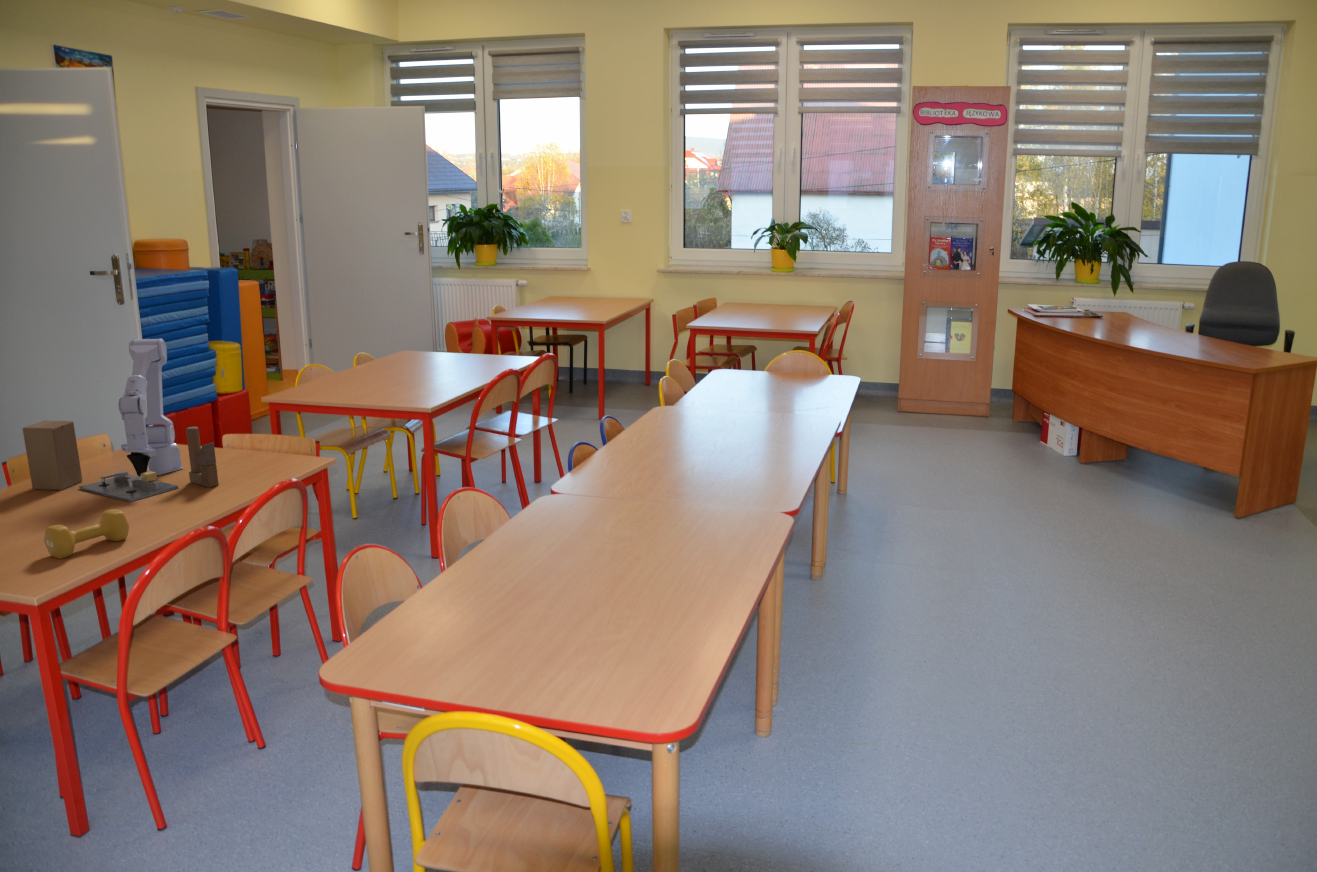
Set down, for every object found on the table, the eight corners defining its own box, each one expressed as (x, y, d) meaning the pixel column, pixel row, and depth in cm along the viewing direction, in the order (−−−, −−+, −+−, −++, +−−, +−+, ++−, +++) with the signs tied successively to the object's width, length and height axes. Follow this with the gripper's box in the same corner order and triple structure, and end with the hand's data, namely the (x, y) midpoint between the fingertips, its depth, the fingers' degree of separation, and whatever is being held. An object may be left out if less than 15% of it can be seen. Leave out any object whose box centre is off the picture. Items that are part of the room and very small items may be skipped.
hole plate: (128, 476, 316) (126, 466, 315) (178, 488, 304) (177, 477, 303) (79, 489, 303) (77, 478, 302) (129, 502, 290) (128, 490, 289)
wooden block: (83, 481, 311) (74, 420, 306) (61, 490, 301) (51, 428, 296) (54, 480, 312) (44, 420, 307) (31, 489, 302) (21, 427, 297)
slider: (151, 483, 304) (150, 471, 303) (157, 484, 303) (155, 472, 302) (127, 489, 297) (125, 477, 296) (133, 491, 296) (131, 478, 295)
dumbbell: (116, 534, 264) (112, 505, 262) (134, 540, 259) (130, 511, 257) (42, 555, 248) (37, 525, 246) (61, 562, 244) (56, 532, 242)
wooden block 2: (208, 488, 304) (201, 432, 299) (189, 482, 310) (182, 428, 305) (219, 485, 307) (212, 430, 302) (200, 479, 312) (193, 425, 308)
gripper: (109, 433, 300) (115, 475, 303) (138, 439, 293) (144, 482, 296) (131, 428, 306) (137, 469, 309) (160, 434, 299) (165, 476, 302)
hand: (142, 475), depth 303 cm, fingers closed
